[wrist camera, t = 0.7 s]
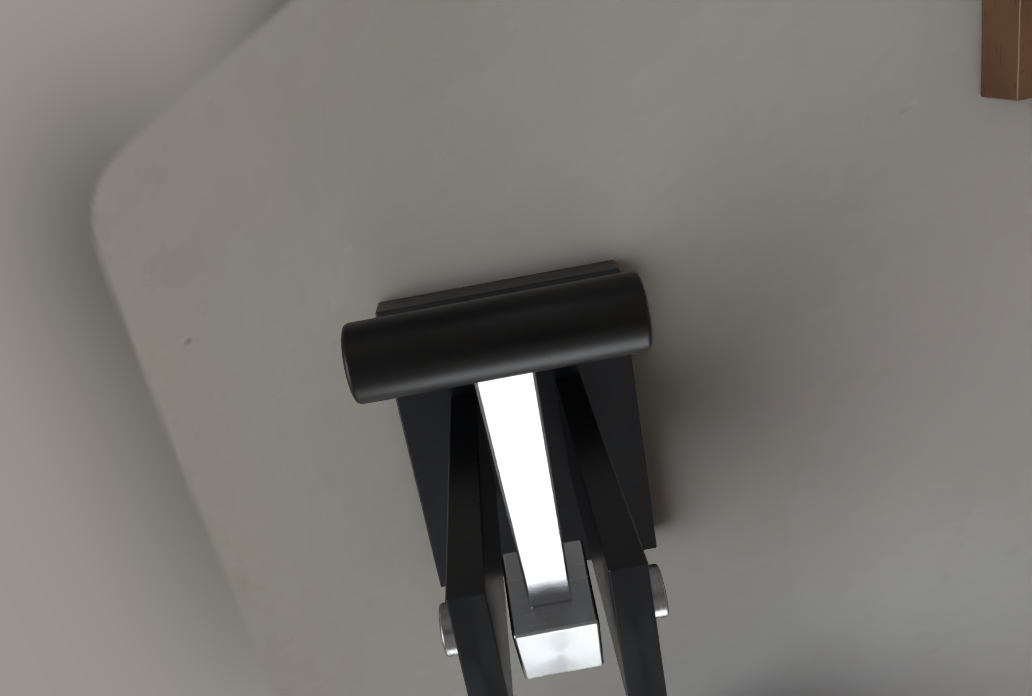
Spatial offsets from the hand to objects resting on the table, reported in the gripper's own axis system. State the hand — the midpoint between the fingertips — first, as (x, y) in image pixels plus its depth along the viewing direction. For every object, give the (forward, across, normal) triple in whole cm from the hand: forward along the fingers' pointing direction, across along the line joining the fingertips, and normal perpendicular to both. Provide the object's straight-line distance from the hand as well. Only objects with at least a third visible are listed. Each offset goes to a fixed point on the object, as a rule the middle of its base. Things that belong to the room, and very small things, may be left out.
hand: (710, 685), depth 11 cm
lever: (+10, -2, -2) cm, 10 cm away
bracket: (+23, -2, -7) cm, 24 cm away
